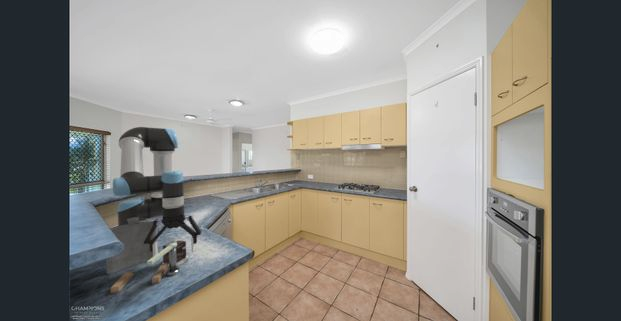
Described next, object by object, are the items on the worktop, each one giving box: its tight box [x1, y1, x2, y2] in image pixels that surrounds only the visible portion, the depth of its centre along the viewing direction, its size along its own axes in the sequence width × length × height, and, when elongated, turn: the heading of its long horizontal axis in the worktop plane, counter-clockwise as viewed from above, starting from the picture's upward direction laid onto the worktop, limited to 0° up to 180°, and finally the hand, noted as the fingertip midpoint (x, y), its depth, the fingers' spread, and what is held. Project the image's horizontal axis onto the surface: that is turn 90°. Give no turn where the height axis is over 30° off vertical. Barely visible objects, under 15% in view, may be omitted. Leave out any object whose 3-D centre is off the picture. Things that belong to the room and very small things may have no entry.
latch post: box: [165, 247, 181, 277], centre depth 71 cm, size 4×4×10 cm
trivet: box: [161, 254, 188, 269], centre depth 79 cm, size 9×9×1 cm
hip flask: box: [105, 217, 159, 275], centre depth 78 cm, size 16×4×20 cm, turn 138°
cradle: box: [110, 263, 169, 295], centre depth 68 cm, size 10×13×2 cm
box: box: [162, 239, 187, 263], centre depth 79 cm, size 6×6×7 cm
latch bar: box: [146, 242, 177, 265], centre depth 66 cm, size 3×14×1 cm, turn 8°
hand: (174, 254), depth 79 cm, fingers open, 13 cm apart
